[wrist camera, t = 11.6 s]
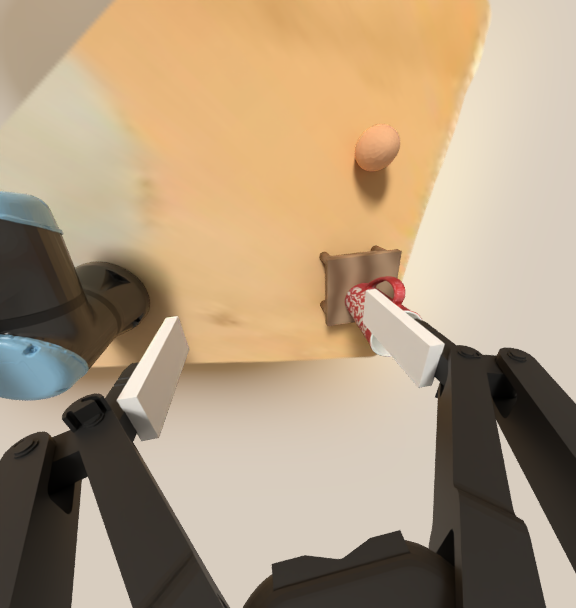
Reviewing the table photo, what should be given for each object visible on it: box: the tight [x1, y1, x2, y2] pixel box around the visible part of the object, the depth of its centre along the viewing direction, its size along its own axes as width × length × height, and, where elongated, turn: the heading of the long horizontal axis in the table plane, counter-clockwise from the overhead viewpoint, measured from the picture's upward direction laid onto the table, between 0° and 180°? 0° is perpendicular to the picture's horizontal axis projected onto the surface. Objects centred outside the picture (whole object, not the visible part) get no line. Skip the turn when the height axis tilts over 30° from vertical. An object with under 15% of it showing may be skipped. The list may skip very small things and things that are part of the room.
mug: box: [345, 276, 422, 357], centre depth 42 cm, size 13×9×14 cm
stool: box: [320, 246, 402, 326], centre depth 51 cm, size 15×15×8 cm
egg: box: [355, 124, 400, 171], centre depth 39 cm, size 7×7×9 cm
